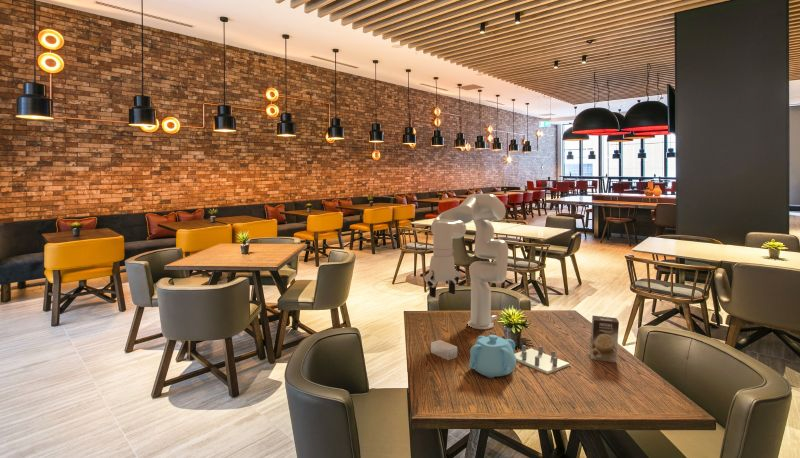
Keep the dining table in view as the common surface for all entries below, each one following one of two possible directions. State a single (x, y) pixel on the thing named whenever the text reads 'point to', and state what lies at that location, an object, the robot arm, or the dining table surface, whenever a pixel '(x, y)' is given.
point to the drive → (444, 349)
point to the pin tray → (540, 360)
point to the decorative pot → (493, 356)
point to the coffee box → (604, 338)
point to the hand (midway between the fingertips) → (442, 295)
